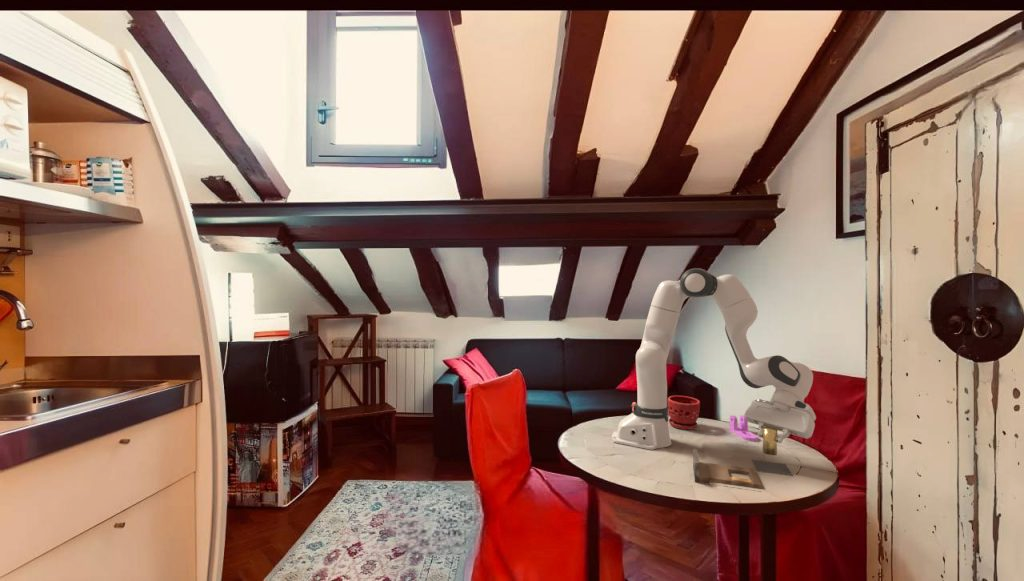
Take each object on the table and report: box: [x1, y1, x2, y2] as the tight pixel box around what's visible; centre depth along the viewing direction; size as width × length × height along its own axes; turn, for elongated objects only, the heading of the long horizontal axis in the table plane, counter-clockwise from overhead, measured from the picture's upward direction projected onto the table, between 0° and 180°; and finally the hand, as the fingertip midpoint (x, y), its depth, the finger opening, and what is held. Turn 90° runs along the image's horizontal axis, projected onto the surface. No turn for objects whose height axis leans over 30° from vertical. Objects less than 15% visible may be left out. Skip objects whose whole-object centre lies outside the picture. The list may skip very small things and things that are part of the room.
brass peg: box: [762, 427, 778, 456], centre depth 139 cm, size 4×4×8 cm
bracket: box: [729, 414, 759, 442], centre depth 172 cm, size 13×6×7 cm, turn 179°
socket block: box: [692, 448, 762, 493], centre depth 133 cm, size 18×12×6 cm, turn 69°
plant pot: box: [667, 395, 701, 430], centre depth 184 cm, size 13×13×12 cm
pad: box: [751, 459, 794, 477], centre depth 139 cm, size 10×10×1 cm
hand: (769, 438), depth 139 cm, fingers closed on brass peg, 4 cm apart
